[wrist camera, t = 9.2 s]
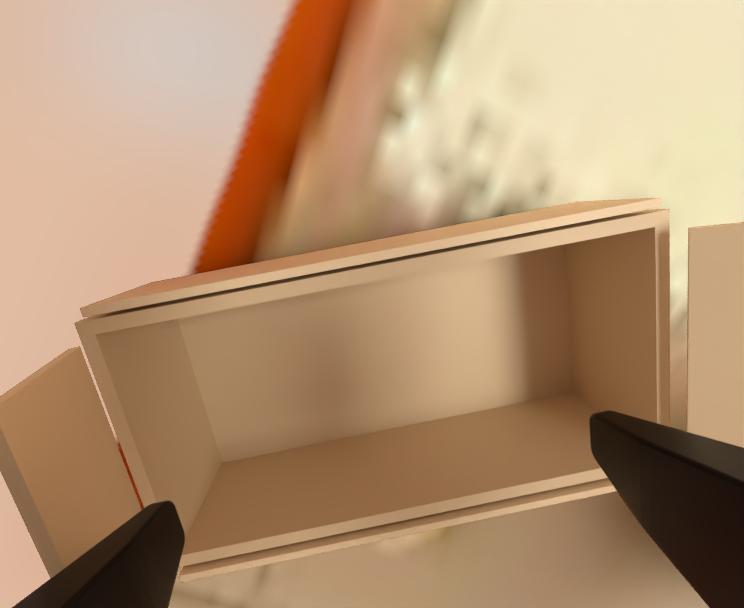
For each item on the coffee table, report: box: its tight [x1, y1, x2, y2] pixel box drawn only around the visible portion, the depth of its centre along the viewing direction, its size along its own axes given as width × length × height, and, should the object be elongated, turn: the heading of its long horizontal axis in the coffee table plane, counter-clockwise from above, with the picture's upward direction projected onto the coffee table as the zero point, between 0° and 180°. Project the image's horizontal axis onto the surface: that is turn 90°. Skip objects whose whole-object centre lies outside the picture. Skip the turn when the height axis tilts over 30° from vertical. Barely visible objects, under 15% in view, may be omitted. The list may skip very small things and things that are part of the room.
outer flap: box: [0, 347, 142, 578], centre depth 9 cm, size 7×4×1 cm
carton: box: [75, 198, 670, 582], centre depth 14 cm, size 9×16×5 cm, turn 101°
